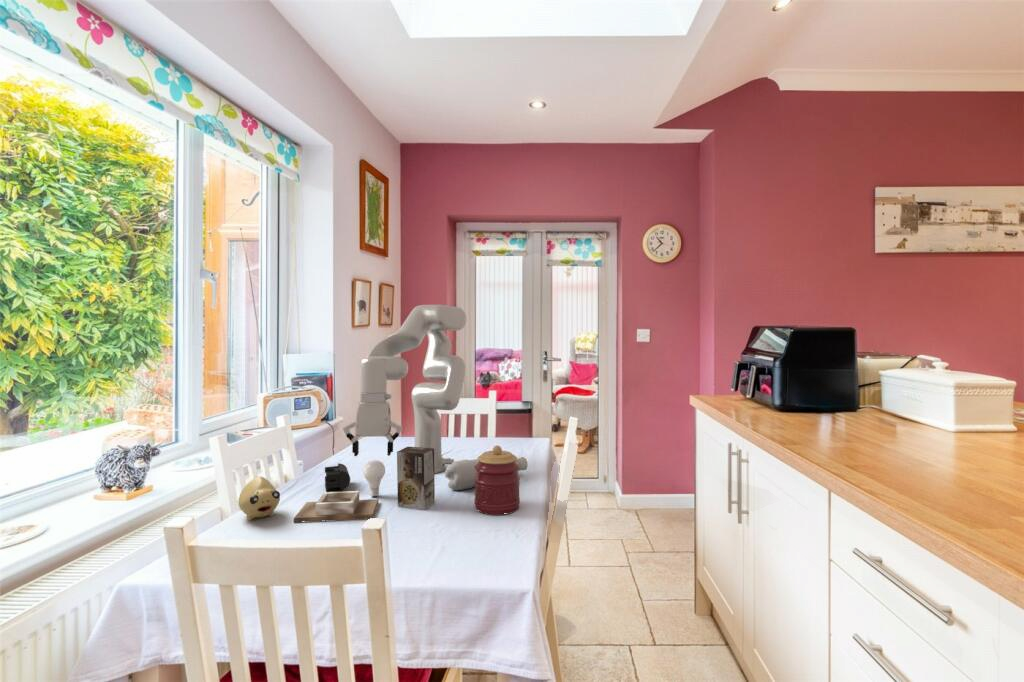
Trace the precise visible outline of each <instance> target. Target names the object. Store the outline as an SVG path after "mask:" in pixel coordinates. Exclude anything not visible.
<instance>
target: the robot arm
mask: <svg viewBox="0 0 1024 682" xmlns="http://www.w3.org/2000/svg"><path fill="white" fill-rule="evenodd" d="M466 324H467V315H466V312H465V311H464V310H463V309H462V308H461V307H460V306H459V307H458V306H453V305H452V306H451V305H448V304H447V305H446V304H421V305H417V306H414V307H413V308H412V310H411V311H410V313H409V314H408V315H407V318H406V319H405V320H404V322H403V323H402V325H401V326H400V328H399V329H398V330H397V331H395V332H394V333H392V334H390V335H388V336H387V337H385V338H384V339H381V340H380V341H379V342H377V343H376V344H375V345H374V346H373V347H372V349H371V350H370V351H369V353H368V354H367V356H366V357H364V358H362V359H361V362H360V402H358V403H357V404H358V405H357V407H356V414H355V421H353V422H352V423H350V424H348V425H347V426H346V425H345V426H344V427H343V428H342V429H343V432H344V434H345V436H346V438H347V439H348V440H349V441H350V442H351V443H352V454H353V457H358V456H359V448H360V447H359V445H360V442H359V438H360V437H363V438H365V437H385V438H386V439H387V440H388V441H387V449H386V450H387V455H386V456H387V457H388V456H389V457H390V456H391V454H392V453H393V452H394V441H395V440H396V439H397V438H398V437H399V436H400V434H401V432H402V430H403V426H402V425H400V424H398V423H396V422H394V421H392V417H391V415H392V414H391V406H390V405H391V404H390V402H389V401H388V400H391V399H392V394H389V393H388V392H387V384H388V383H387V381H399V380H403V379H404V378H405V377H406V376H407V375H408V373H409V372H408V371H409V364H408V362H407V360H406V359H404V358H403V357H400V356H396V355H399V354H402V353H405V352H409V351H410V350H413V349H416V348H417V347H419V346H420V345H421V343H422V341H423V340H424V338H425V336H427V339H428V340H427V341H428V346H427V350H426V354H425V356H424V357H425V358H424V361H423V365H422V376H423V378H425V379H426V380H427V382H425V381H424V382H420V383H418V384H415V385H414V386H413V388H412V391H411V402H412V407H413V408H412V409H413V415H414V447H421V448H434V474H438V473H441V472H445V471H446V468H447V465H448V466H449V465H451V464H452V463H453V462H454V461H455V460H454V458H451V457H450V458H449V457H447V458H444V457H443V454H442V420H441V416H440V414H439V412H438V410H439V411H453V410H454V409H456V408H457V407H458V405H459V402H460V399H461V394H462V392H463V391H462V389H463V386H464V380H465V376H466V364H465V360H464V359H463V358H462V357H461V356H458V355H453V354H452V355H450V354H451V348H452V343H451V341H450V339H449V337H448V336H447V334H446V332H445V331H461V330H463V329H464V328H465V326H466ZM428 380H429V381H434V382H428ZM353 428H355V429H354V431H355V432H354V433H355V435H353V434H352V433H351V431H350V430H351V429H353ZM392 428H393V429H395V430H396V432H395V433H394V434H392V433H391V431H392Z"/></svg>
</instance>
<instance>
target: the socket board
mask: <svg viewBox="0 0 1024 682" xmlns="http://www.w3.org/2000/svg"><path fill="white" fill-rule="evenodd" d="M379 504H380V503H379V498H373V499H370V498H369V499H360V490H355V491H354V490H353V491H352V490H351V491H350V490H349V491H342V492H326V491H325V492H324V493H323V494H322V495H321V496H320V498H319V499H318V500H317V501H307V502H306V503H304V505H303V506H301V507H302V508H300V510H299V511H298V512H297V513H296V515H295V516H294V517H293V523H294V522H297V523H303V522H302V521H317V522H323V521H322V520H325V521H324V522H327V521H326V520H337V521H352V520H353V521H354V520H355V521H356V520H370V519H369V518H372V517H373V518H374V516H375V513H376V510H377V508H378V506H379ZM365 518H366V519H365ZM373 518H372V519H373Z"/></svg>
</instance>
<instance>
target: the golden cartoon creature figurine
mask: <svg viewBox="0 0 1024 682" xmlns="http://www.w3.org/2000/svg"><path fill="white" fill-rule="evenodd" d="M280 499H281V493H280V492H279V491H278V490H277V489H276V488H275V486H274V485H273V484H272V483H271V482H270V481H269V480H268V479H267V478H265V477H264V476H256V477H254V478H253V479H251V480H250V481H248V483H246V485H245V486H244V488H242V490H241V491H240V494H239V497H238V507H239V508H240V510H241V511H242V513H243V514H244V515H246V519H247V520H248V521H251V520H253V519H254V518H262V517H266V516H268V517H273V516H274V514H275V510H276V508H277V507H278V506H279V503H280Z"/></svg>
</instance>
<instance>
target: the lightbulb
mask: <svg viewBox="0 0 1024 682" xmlns="http://www.w3.org/2000/svg"><path fill="white" fill-rule="evenodd" d="M362 473H363V476H364V478H365V480H366V481H367V482H368V483H367V484H368V487H369V495H370V496H371V497H373V498H376V497H377V496H379V495H380V486H381V482H382V479H383V478H384V476H385V474H386V467H385V465H384V463H383V462H382V461H380V460H376V459H374V460H370V461H368V462H367V463H366V464H365V465H364V467H363V472H362Z"/></svg>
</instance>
